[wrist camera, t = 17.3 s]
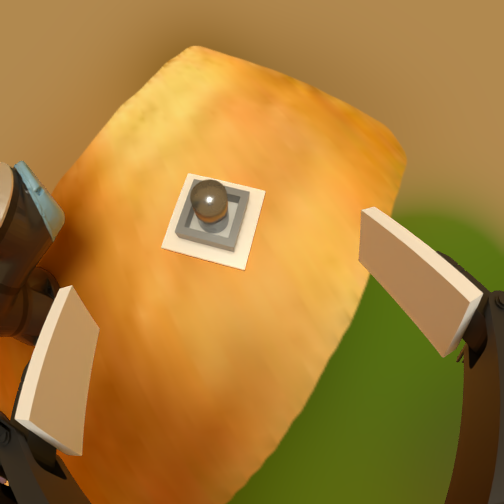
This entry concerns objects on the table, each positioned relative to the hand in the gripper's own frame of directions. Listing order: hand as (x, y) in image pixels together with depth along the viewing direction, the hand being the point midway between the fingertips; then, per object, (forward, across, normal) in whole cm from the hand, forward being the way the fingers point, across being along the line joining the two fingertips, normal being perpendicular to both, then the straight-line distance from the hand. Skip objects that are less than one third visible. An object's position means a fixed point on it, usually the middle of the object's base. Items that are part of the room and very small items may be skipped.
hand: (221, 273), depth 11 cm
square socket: (+33, +1, -13) cm, 36 cm away
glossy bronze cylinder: (+33, 0, -12) cm, 35 cm away
